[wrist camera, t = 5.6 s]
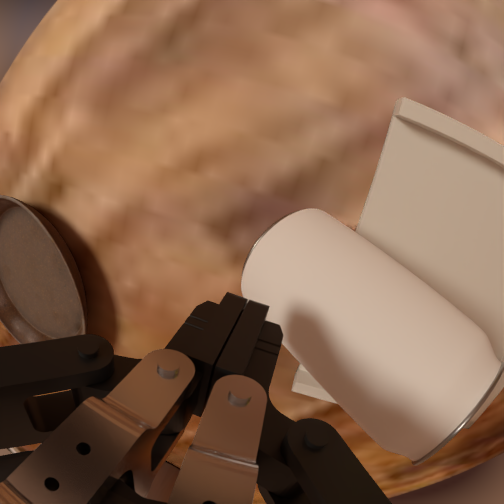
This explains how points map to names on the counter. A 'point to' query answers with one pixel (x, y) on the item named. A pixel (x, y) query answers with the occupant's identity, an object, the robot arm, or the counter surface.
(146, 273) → the counter surface
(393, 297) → the can
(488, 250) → the tray
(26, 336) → the plant saucer
